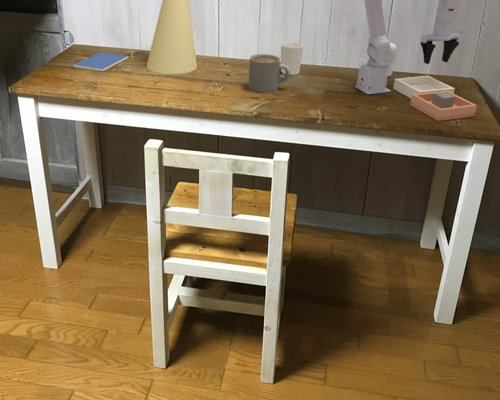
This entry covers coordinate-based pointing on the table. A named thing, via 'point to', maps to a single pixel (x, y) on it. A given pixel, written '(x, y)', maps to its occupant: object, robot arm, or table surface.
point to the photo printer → (393, 59)
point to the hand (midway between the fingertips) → (435, 62)
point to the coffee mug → (266, 73)
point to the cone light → (173, 40)
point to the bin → (457, 111)
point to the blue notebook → (100, 61)
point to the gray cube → (443, 100)
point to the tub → (420, 85)
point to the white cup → (291, 56)
